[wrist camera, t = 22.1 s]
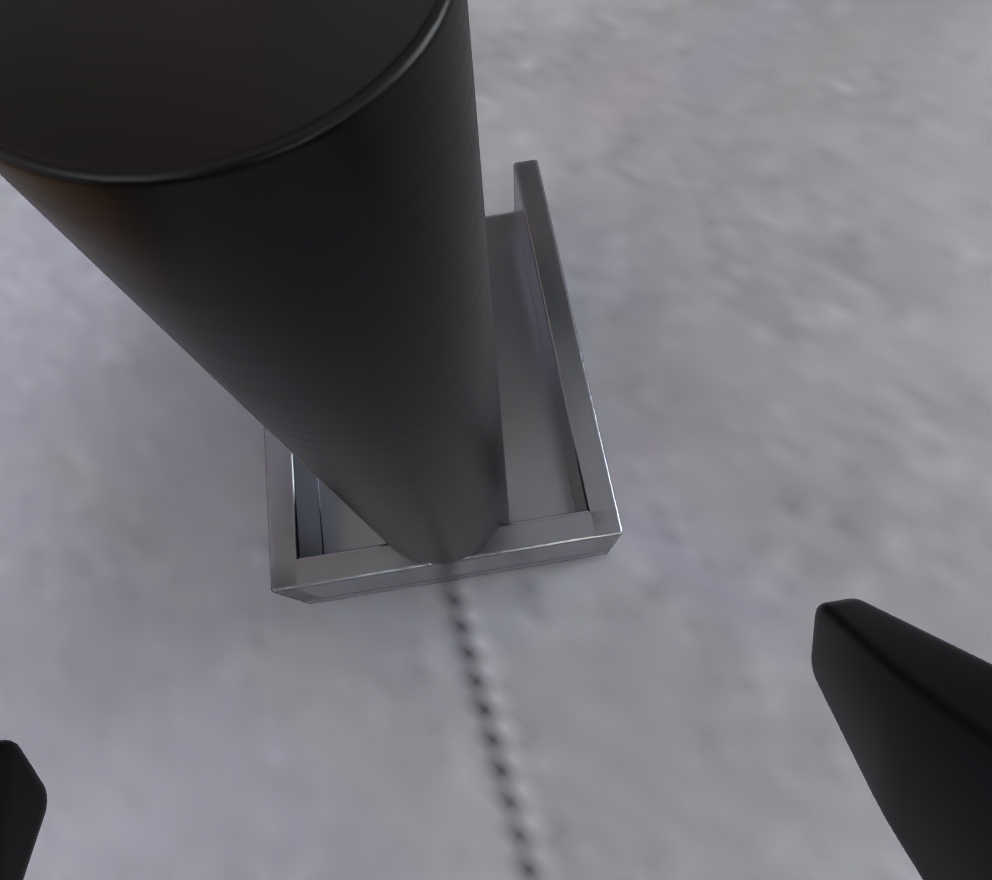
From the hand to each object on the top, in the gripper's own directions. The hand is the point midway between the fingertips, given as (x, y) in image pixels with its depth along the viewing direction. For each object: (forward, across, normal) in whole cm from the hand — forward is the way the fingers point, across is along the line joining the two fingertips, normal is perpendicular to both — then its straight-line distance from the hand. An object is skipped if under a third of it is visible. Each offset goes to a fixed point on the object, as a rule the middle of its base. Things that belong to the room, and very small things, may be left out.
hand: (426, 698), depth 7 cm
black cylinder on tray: (+10, 0, 0) cm, 10 cm away
